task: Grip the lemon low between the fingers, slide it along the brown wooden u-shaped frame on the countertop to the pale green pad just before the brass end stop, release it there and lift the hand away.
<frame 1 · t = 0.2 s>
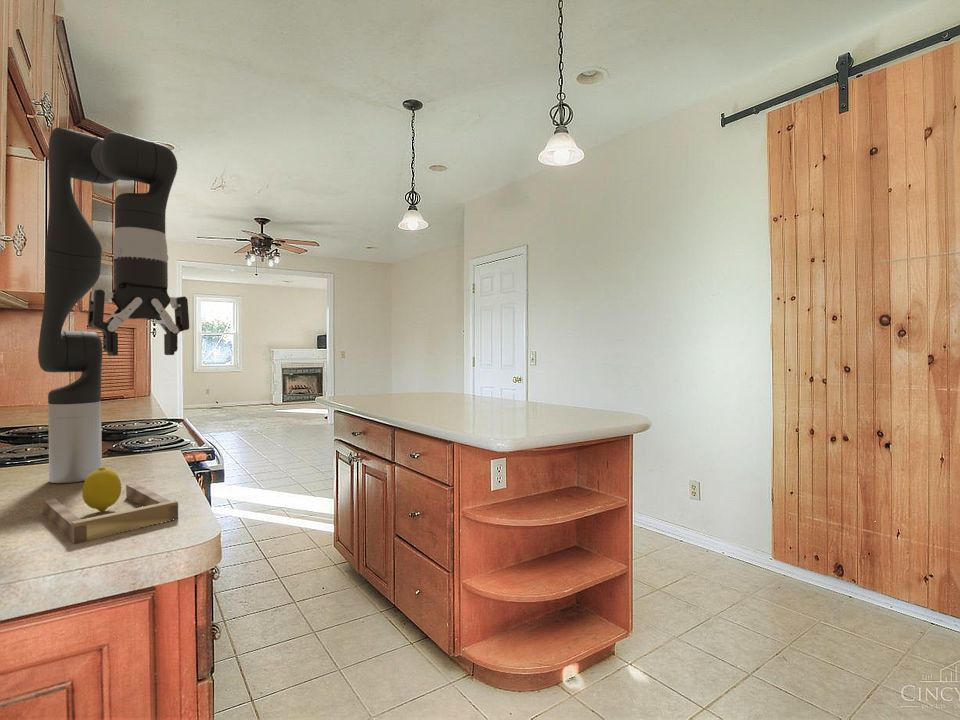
hand: (142, 355, 84), 28 cm above the countertop, tool pointing down, fingers open, 8 cm apart
brown wooden u-shaped frame: (109, 516, 86), on the countertop
lemon: (102, 512, 89), resting in brown wooden u-shaped frame
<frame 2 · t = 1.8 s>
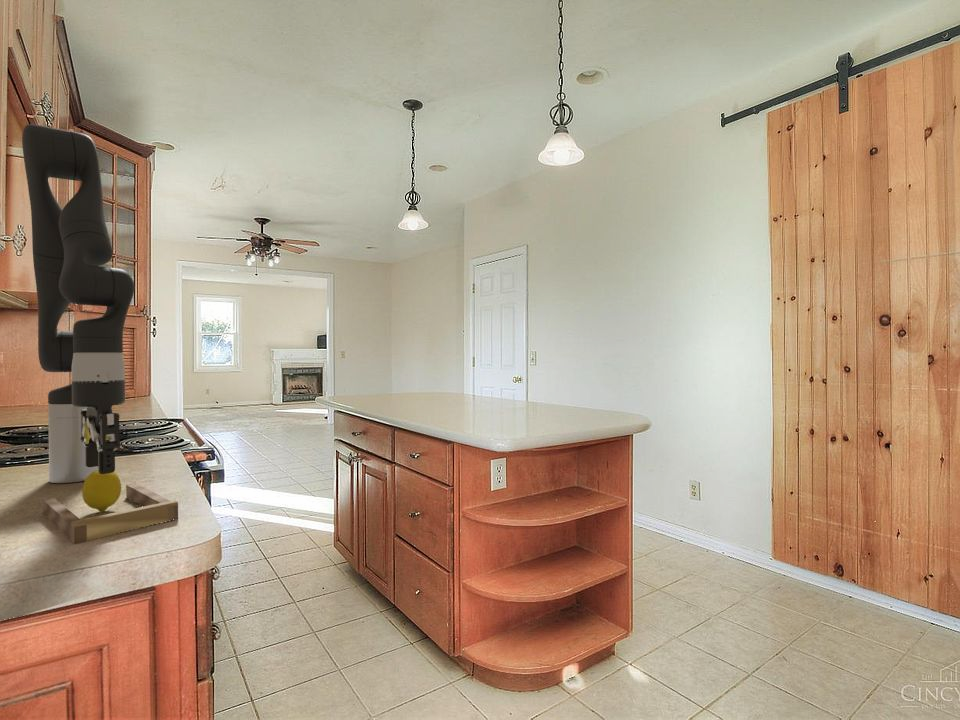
hand: (99, 469, 88), 8 cm above the countertop, tool pointing down, fingers open, 8 cm apart
nothing on the countertop moved.
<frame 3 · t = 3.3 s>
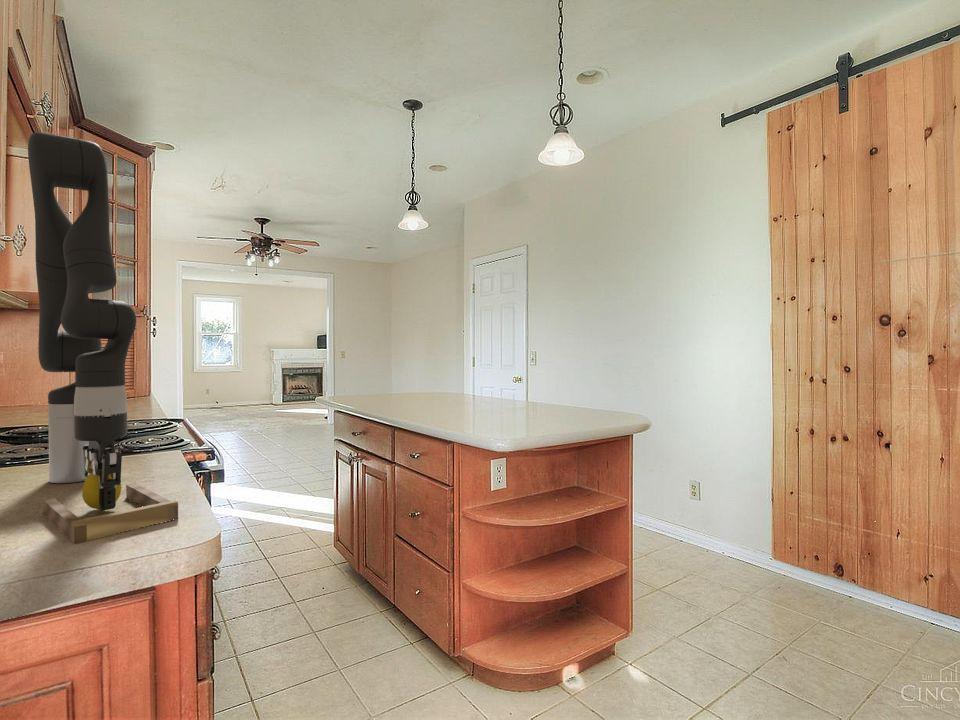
hand: (102, 505, 89), 1 cm above the countertop, tool pointing down, fingers closed on lemon, 5 cm apart
lemon: (102, 512, 89), resting in brown wooden u-shaped frame, touching gripper
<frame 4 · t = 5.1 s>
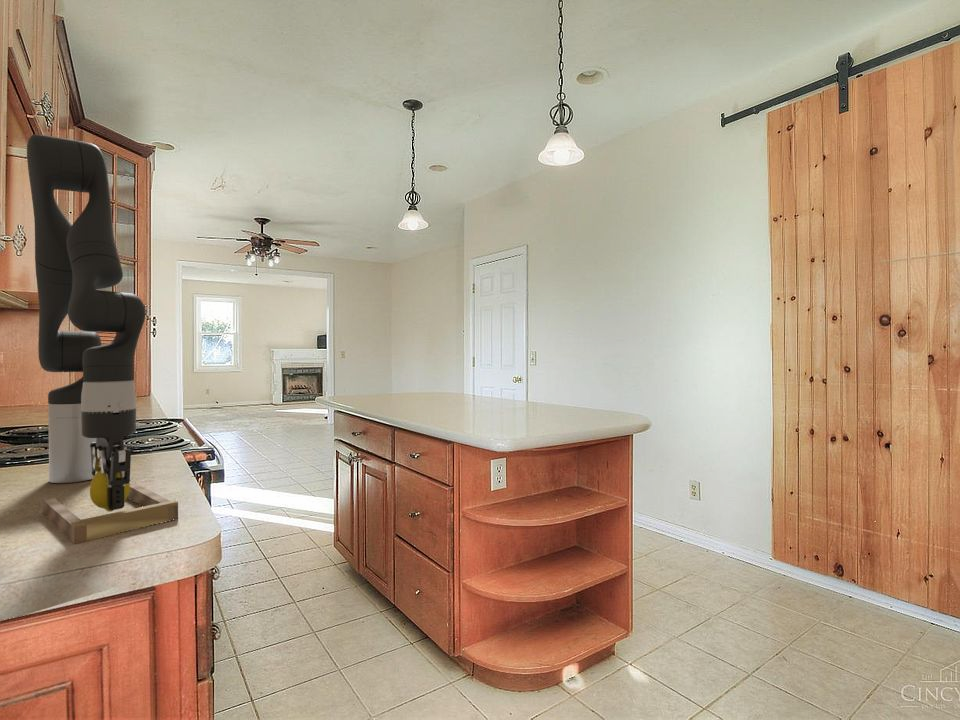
hand: (110, 505, 85), 2 cm above the countertop, tool pointing down, fingers closed on lemon, 5 cm apart
lemon: (110, 512, 85), point 1 cm above the countertop, touching gripper
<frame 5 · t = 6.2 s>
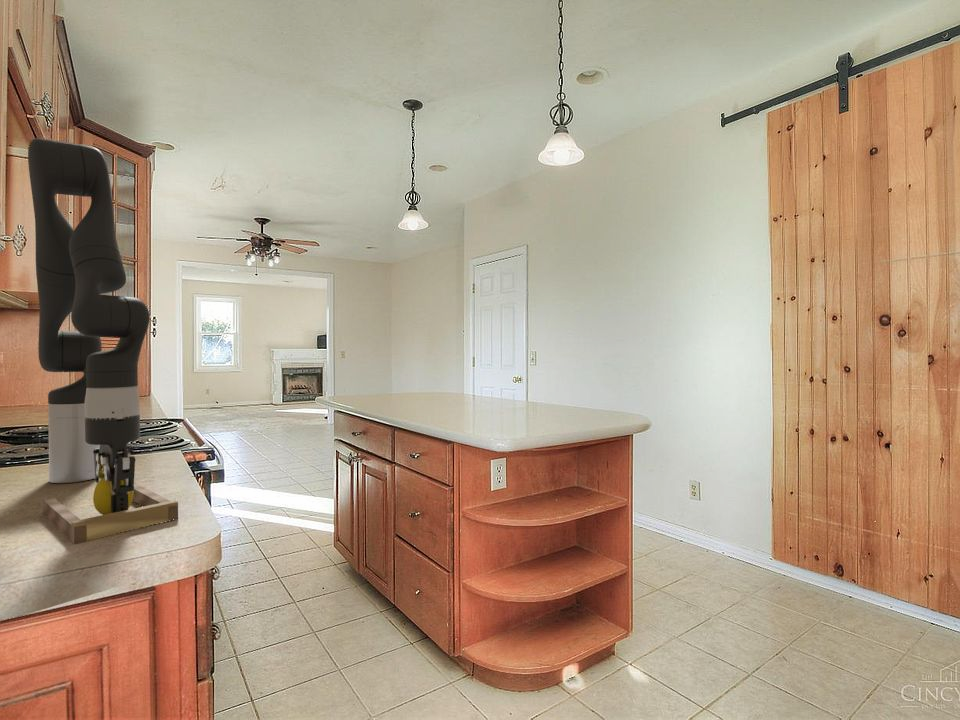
hand: (114, 512, 84), 1 cm above the countertop, tool pointing down, fingers closed on lemon, 5 cm apart
lemon: (114, 520, 84), resting on brown wooden u-shaped frame, touching gripper
when the fingers open (1 cm above the countertop, at t = 6.8 s): lemon stays where it is, resting on brown wooden u-shaped frame.
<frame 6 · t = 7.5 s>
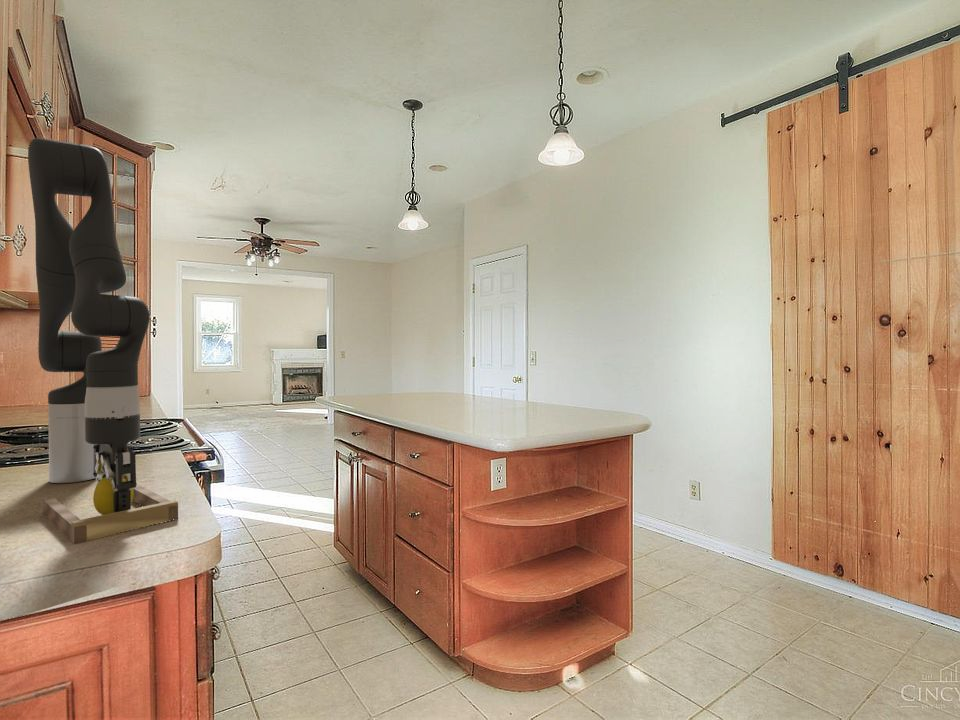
hand: (114, 508, 84), 2 cm above the countertop, tool pointing down, fingers open, 8 cm apart
lemon: (114, 520, 84), resting on brown wooden u-shaped frame
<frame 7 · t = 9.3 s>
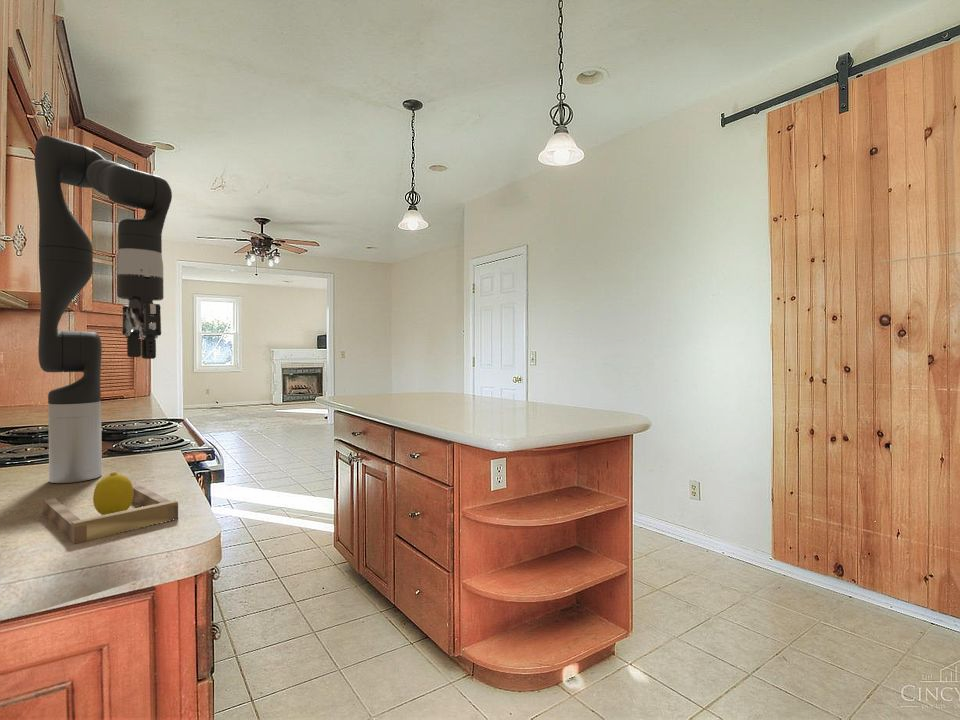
hand: (141, 357, 98), 27 cm above the countertop, tool pointing down, fingers open, 8 cm apart
nothing on the countertop moved.
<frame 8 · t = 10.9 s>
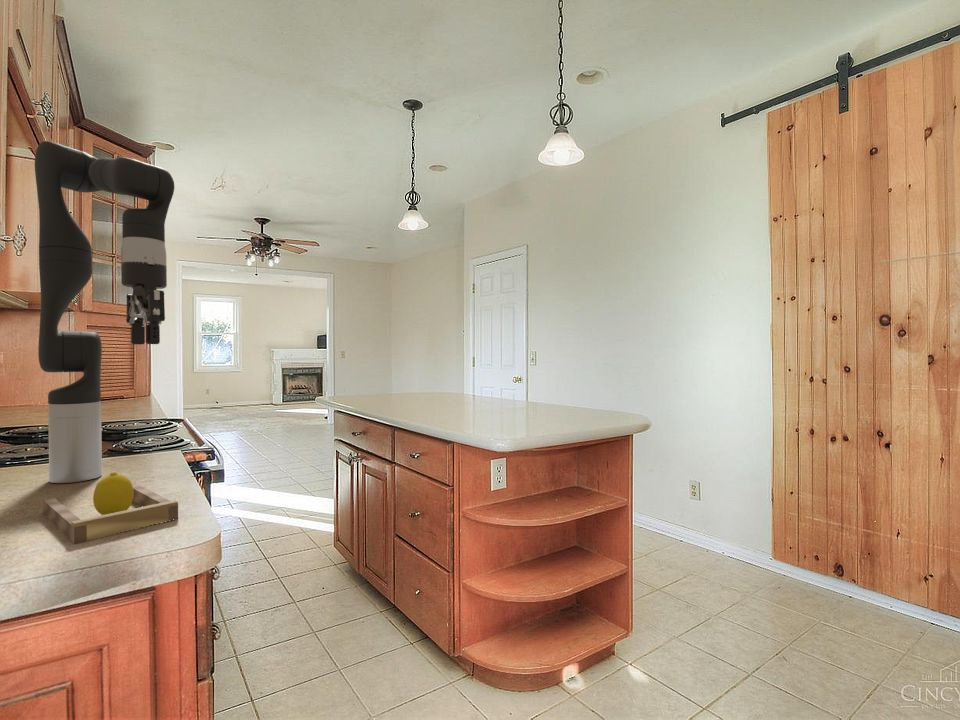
hand: (145, 344, 100), 30 cm above the countertop, tool pointing down, fingers open, 8 cm apart
nothing on the countertop moved.
at the end: lemon inside the target area (2.5 cm from its centre), resting on brown wooden u-shaped frame; lemon moved 6.8 cm from its start; the gripper is holding nothing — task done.
